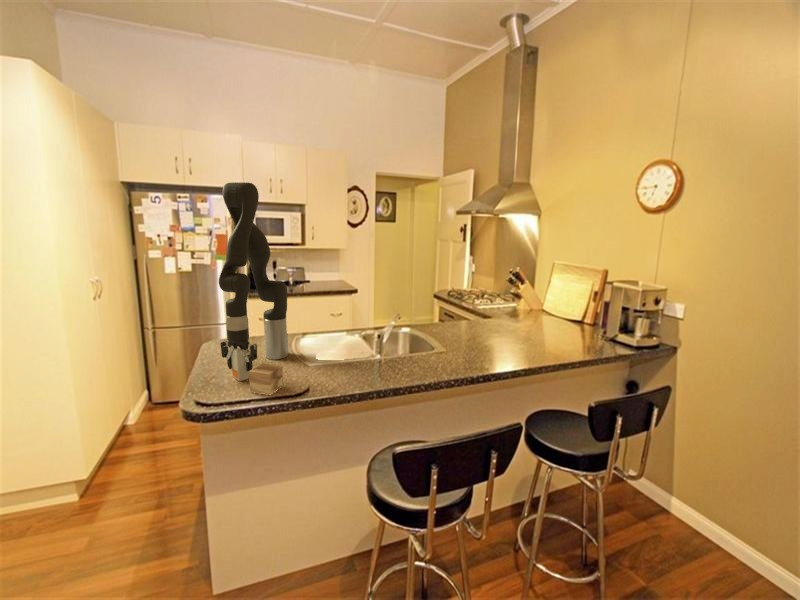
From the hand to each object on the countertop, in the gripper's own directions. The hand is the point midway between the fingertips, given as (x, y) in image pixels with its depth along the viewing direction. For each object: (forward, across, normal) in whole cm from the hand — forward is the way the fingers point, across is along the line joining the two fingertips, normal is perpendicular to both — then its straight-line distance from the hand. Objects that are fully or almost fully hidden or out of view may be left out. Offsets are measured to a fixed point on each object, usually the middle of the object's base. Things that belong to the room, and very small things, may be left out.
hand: (240, 369), depth 149 cm
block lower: (+4, -15, +6) cm, 17 cm away
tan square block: (0, -15, +6) cm, 16 cm away
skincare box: (+4, 0, 0) cm, 4 cm away
